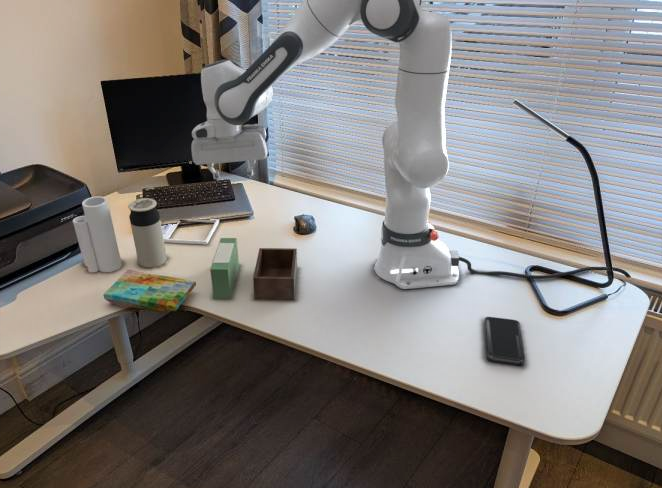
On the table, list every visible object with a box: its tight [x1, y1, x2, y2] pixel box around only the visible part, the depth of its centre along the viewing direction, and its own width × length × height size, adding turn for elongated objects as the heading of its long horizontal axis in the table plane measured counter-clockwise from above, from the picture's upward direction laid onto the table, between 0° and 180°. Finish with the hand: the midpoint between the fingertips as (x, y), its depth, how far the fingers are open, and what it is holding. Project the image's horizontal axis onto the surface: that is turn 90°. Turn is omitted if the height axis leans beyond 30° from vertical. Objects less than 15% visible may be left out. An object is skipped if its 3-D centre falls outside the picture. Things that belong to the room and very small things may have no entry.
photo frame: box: [161, 218, 220, 246], centre depth 173 cm, size 15×1×18 cm
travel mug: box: [127, 197, 168, 268], centre depth 154 cm, size 8×8×18 cm
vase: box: [72, 195, 123, 274], centre depth 152 cm, size 11×7×20 cm, turn 82°
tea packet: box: [209, 237, 240, 300], centre depth 147 cm, size 4×16×9 cm, turn 176°
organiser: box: [252, 247, 298, 301], centre depth 146 cm, size 10×15×7 cm
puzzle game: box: [102, 269, 197, 314], centre depth 142 cm, size 12×5×20 cm
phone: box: [483, 316, 526, 366], centre depth 126 cm, size 8×1×15 cm
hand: (233, 177), depth 153 cm, fingers open, 8 cm apart
